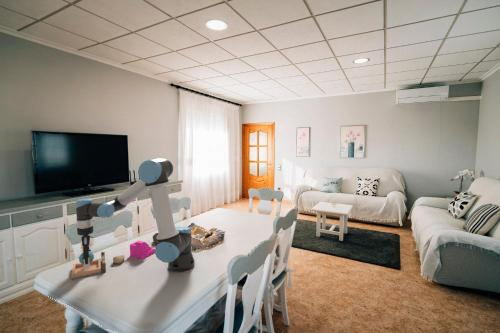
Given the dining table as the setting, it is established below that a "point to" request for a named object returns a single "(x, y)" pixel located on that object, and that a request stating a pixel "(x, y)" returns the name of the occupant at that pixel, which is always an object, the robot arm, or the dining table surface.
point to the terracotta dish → (80, 272)
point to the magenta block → (140, 249)
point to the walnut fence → (103, 262)
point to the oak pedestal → (118, 259)
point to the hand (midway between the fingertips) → (87, 266)
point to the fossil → (155, 238)
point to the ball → (91, 257)
